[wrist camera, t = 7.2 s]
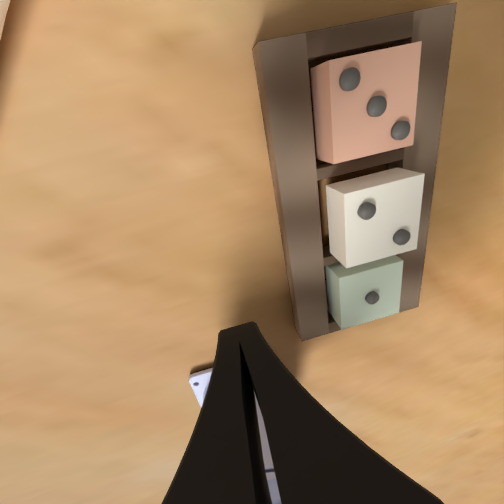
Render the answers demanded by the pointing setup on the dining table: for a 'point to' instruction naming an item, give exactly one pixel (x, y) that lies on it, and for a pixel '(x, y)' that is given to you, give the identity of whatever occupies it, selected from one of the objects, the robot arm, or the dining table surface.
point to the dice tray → (308, 171)
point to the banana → (3, 13)
